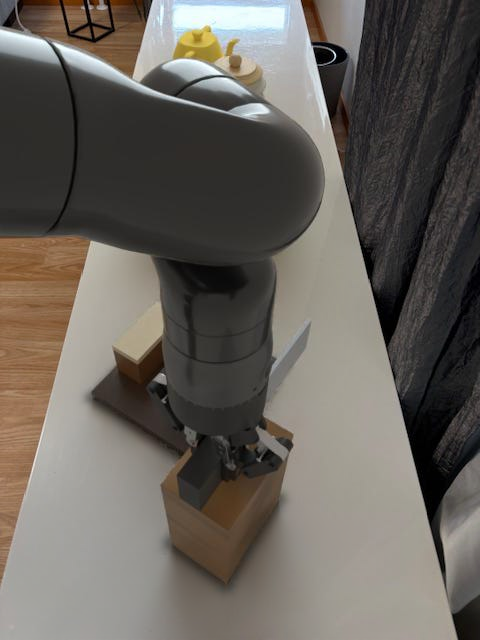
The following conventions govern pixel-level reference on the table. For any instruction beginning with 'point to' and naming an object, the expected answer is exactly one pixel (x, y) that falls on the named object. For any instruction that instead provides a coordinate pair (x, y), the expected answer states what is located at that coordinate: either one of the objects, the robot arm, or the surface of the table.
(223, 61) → the jar
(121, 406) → the board
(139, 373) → the slice
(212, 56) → the teapot
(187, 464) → the knife
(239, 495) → the stand
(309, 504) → the table surface
